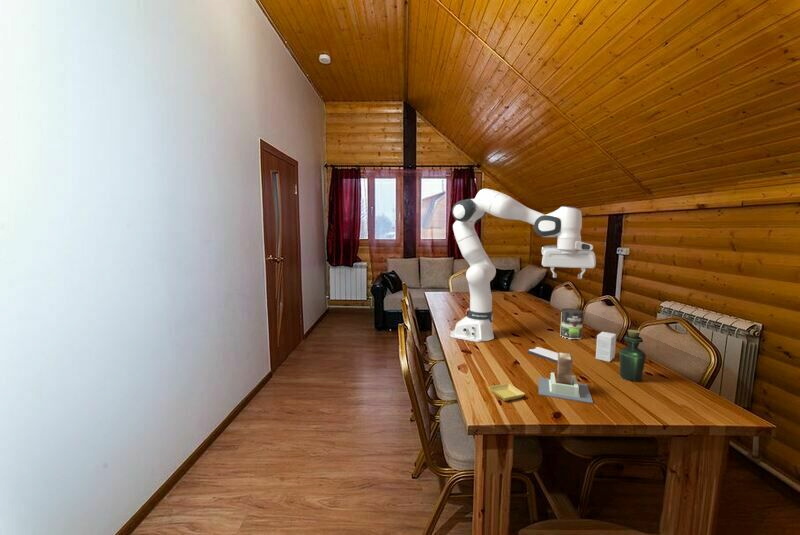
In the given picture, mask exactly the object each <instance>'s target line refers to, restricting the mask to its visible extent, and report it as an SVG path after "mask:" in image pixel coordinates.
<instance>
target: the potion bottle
mask: <svg viewBox="0 0 800 535" xmlns="http://www.w3.org/2000/svg"><path fill="white" fill-rule="evenodd" d="M640 335H641V331H640V330H636V329H627V335H626V334H625V336H624V337H623V339H624V341H626V342H627V343H626V344H627V346H625V347H622V348H621V349H620V350H619V352H618V354H619V375H620V377H621V378H622V379H624V380H626V381H629V382H640V381H642V379H643V374H644V369H645V362H646V358H647V355H646V353H645V352H644V351H643V350H641V349H640V348H639V344H640V343H643V342H644V340H643V338H642V337H641V336H640Z"/></svg>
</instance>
